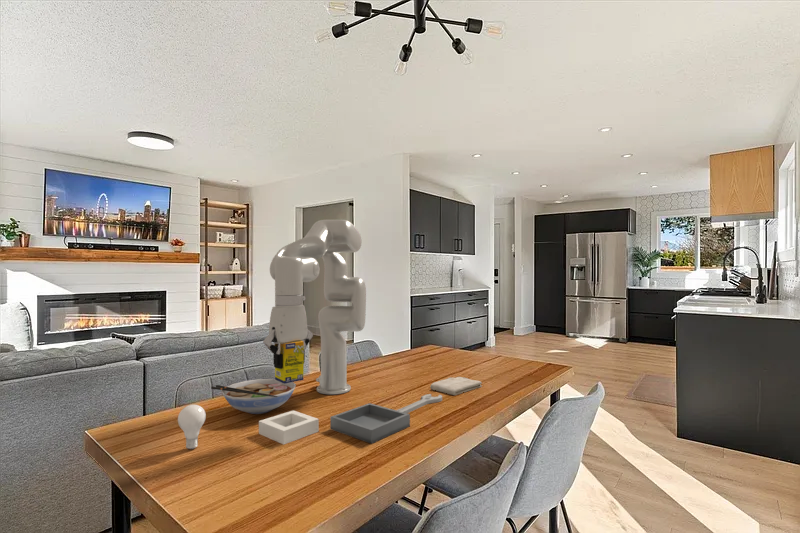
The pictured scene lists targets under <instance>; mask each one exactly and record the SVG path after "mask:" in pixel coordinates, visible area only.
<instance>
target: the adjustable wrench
mask: <svg viewBox="0 0 800 533" xmlns="http://www.w3.org/2000/svg"><path fill="white" fill-rule="evenodd" d="M442 401H443V395H442V394H438V396H432V393H429V394H427V393H426V394H423V395H421V397H420V400H417V401H415V402H413V403H411V404H408V405H406V406H403V407H400V408H398V409H396V410H397V411H400V412H404V413H408V414H410V413H411V412H413V411H415V410H418V409H420V408H421V407H424V406H426V405H428V404H434V403H439V402H442Z"/></svg>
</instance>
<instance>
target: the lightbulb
mask: <svg viewBox="0 0 800 533" xmlns="http://www.w3.org/2000/svg"><path fill="white" fill-rule="evenodd" d="M206 417H207V414H206V410H205V409H204V408H203V407H202V406H201V405H198V404H189V405H187V406H185V407H183V408H182V409H181V410H180V412H179V413H178V417H177V424H178V426H179V428H180V429H181V430H182V431H183V433H184V438H185V448H186V449H188V450H194V449H196V448H197V447H198V446H199V443H198V442H199V441H198V438H199V434H200V431H201V429H202V426H203V425H204V424H205V422H206Z"/></svg>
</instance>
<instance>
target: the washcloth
mask: <svg viewBox="0 0 800 533" xmlns="http://www.w3.org/2000/svg"><path fill="white" fill-rule="evenodd" d="M482 387H483V386H482V381H480V380H475V379H470V378H467V377H462V376H457V377H447V378H446V379H441V380H438V381H434V382H432V383H431V384H430V387H429V388H430V389H431V390H433V391H435V390H436V391H435V392H441V393H444V394H446V393H447V394H448V395H451V396H457V395H461V394H463V392H464V393H467V392H469V391H473V390H476V388H477V389H479V388H482Z"/></svg>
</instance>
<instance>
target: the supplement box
mask: <svg viewBox="0 0 800 533" xmlns="http://www.w3.org/2000/svg"><path fill="white" fill-rule="evenodd" d="M281 354H283V368H282V369H279V368H275V367H274V379H275V380H277V381H280V382H282V383H284V384H286V383H290V382H294V383H296V382H300V381H304V372H305V371H304V370H305V369H304V367H305V366H304V364H305V359H304V342H303V341H295V342H289V343H283V348H282V351H281Z"/></svg>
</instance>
